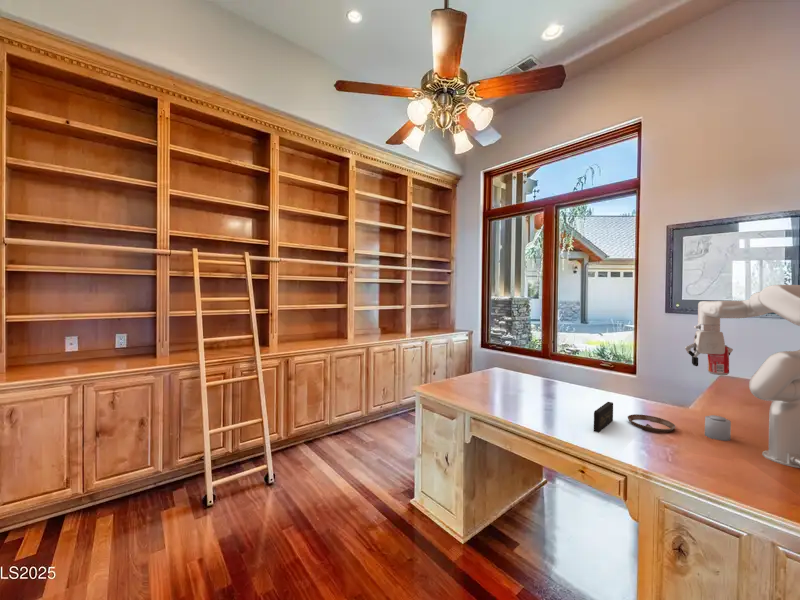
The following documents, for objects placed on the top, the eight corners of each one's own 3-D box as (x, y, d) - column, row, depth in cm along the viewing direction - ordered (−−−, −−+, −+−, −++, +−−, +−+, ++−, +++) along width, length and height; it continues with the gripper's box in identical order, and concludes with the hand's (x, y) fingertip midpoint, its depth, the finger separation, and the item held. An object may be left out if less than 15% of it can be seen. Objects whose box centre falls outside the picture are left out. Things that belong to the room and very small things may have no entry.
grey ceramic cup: (735, 443, 141) (735, 421, 140) (711, 440, 143) (711, 419, 143) (723, 435, 148) (723, 415, 148) (700, 433, 151) (701, 413, 150)
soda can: (732, 376, 151) (732, 346, 151) (711, 375, 154) (711, 345, 154) (724, 372, 158) (724, 344, 158) (704, 371, 160) (704, 343, 160)
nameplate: (608, 422, 164) (608, 401, 164) (612, 423, 162) (613, 402, 162) (593, 434, 149) (593, 411, 149) (598, 435, 148) (598, 412, 148)
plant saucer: (674, 426, 160) (674, 419, 159) (676, 439, 145) (676, 431, 145) (628, 417, 170) (628, 411, 170) (626, 429, 156) (626, 422, 156)
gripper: (690, 328, 155) (689, 366, 155) (737, 329, 150) (737, 369, 150) (681, 327, 162) (681, 363, 162) (727, 328, 157) (726, 365, 157)
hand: (708, 366), depth 156 cm, fingers open, 9 cm apart
